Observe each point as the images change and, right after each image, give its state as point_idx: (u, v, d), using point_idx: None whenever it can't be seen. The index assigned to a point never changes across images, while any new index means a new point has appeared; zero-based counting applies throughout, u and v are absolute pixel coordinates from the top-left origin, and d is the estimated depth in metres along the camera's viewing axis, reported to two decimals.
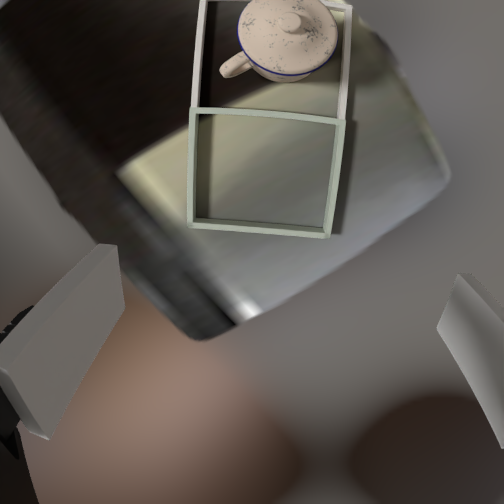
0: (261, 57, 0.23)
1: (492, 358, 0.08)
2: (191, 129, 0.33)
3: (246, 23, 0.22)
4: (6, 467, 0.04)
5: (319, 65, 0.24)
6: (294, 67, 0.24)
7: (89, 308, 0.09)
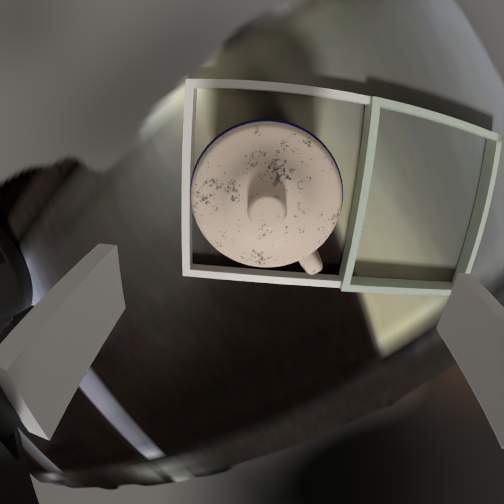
0: (316, 240, 0.19)
1: (492, 358, 0.08)
2: (367, 289, 0.28)
3: (259, 259, 0.19)
4: (6, 467, 0.04)
5: (328, 154, 0.17)
6: (334, 194, 0.17)
7: (89, 308, 0.09)
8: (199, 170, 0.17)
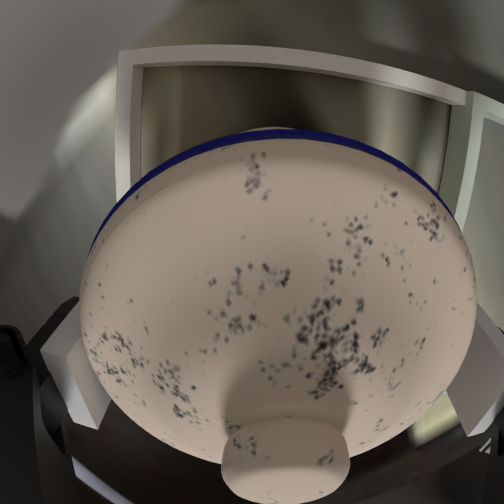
0: (389, 436, 0.07)
1: None
2: None
3: None
4: (54, 463, 0.04)
5: (467, 251, 0.05)
6: (459, 356, 0.05)
7: None
8: (85, 299, 0.05)
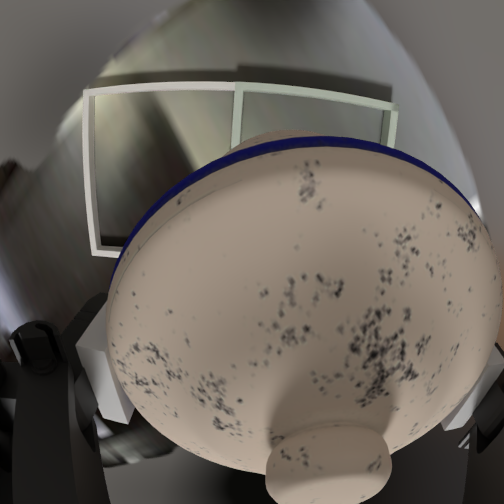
0: (412, 439, 0.07)
1: None
2: None
3: None
4: (86, 462, 0.04)
5: None
6: (483, 360, 0.05)
7: None
8: (114, 309, 0.05)
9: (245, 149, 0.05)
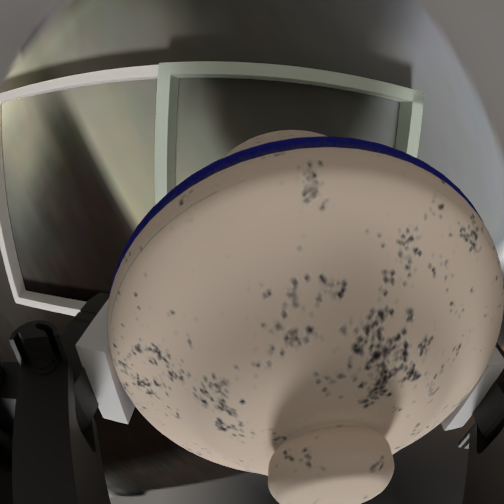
0: (414, 439, 0.06)
1: None
2: None
3: None
4: (86, 462, 0.04)
5: None
6: (484, 360, 0.05)
7: None
8: (116, 310, 0.05)
9: (247, 149, 0.05)
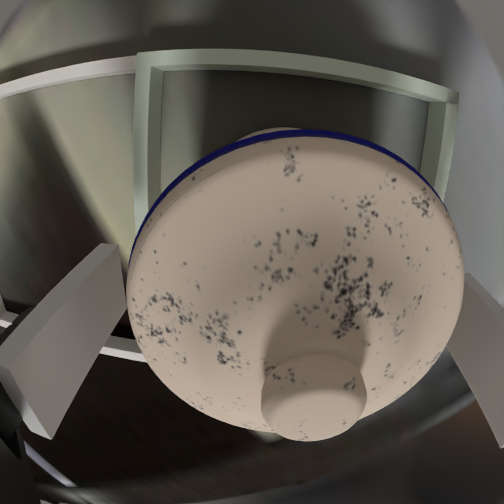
0: (394, 396, 0.08)
1: (490, 357, 0.08)
2: None
3: None
4: (8, 467, 0.04)
5: (454, 228, 0.06)
6: (451, 318, 0.07)
7: (91, 307, 0.09)
8: (137, 267, 0.07)
9: (243, 139, 0.06)
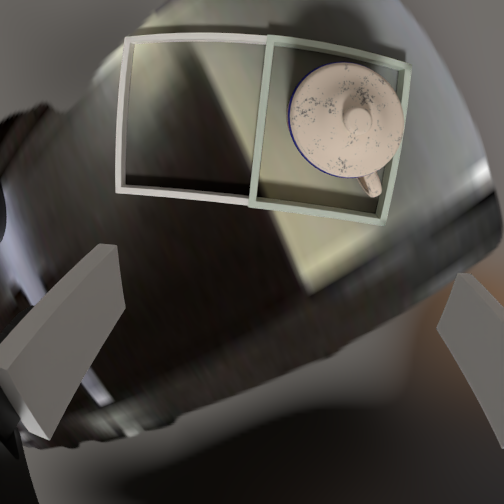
0: (386, 156, 0.21)
1: (492, 358, 0.08)
2: (274, 207, 0.31)
3: (341, 167, 0.22)
4: (6, 467, 0.04)
5: (395, 92, 0.20)
6: (400, 121, 0.20)
7: (89, 308, 0.09)
8: (300, 91, 0.20)
9: None
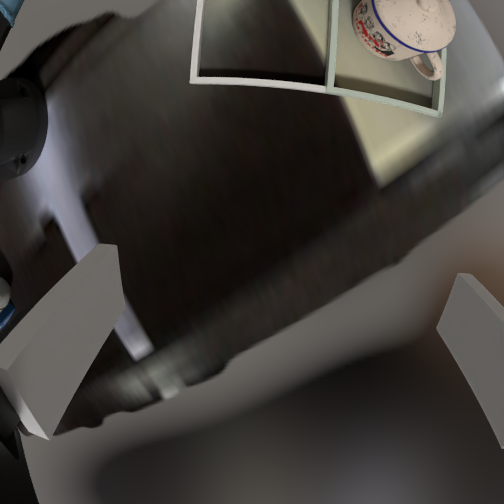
0: (447, 37, 0.20)
1: (492, 358, 0.08)
2: (350, 93, 0.30)
3: (418, 40, 0.20)
4: (6, 467, 0.04)
5: None
6: (452, 15, 0.19)
7: (89, 308, 0.09)
8: None
9: None
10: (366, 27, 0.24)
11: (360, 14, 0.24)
